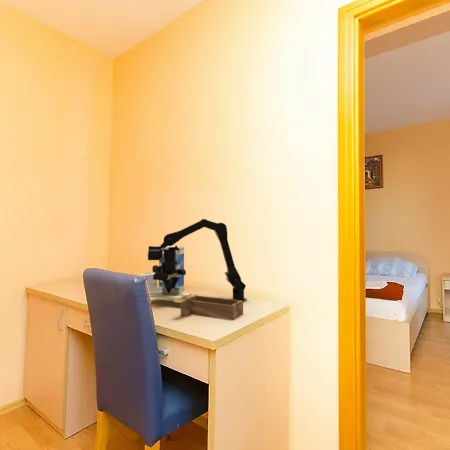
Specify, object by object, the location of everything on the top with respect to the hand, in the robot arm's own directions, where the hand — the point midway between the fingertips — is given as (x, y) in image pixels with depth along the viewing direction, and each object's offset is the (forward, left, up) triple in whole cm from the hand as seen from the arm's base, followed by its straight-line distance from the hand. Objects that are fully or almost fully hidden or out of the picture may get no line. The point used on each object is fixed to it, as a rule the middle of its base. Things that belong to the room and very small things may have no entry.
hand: (170, 292), depth 152 cm
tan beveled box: (+16, +18, +1) cm, 24 cm away
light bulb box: (-15, -28, -6) cm, 32 cm away
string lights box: (-25, -18, -6) cm, 31 cm away
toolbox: (+8, +27, -6) cm, 29 cm away
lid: (0, 0, -2) cm, 2 cm away
